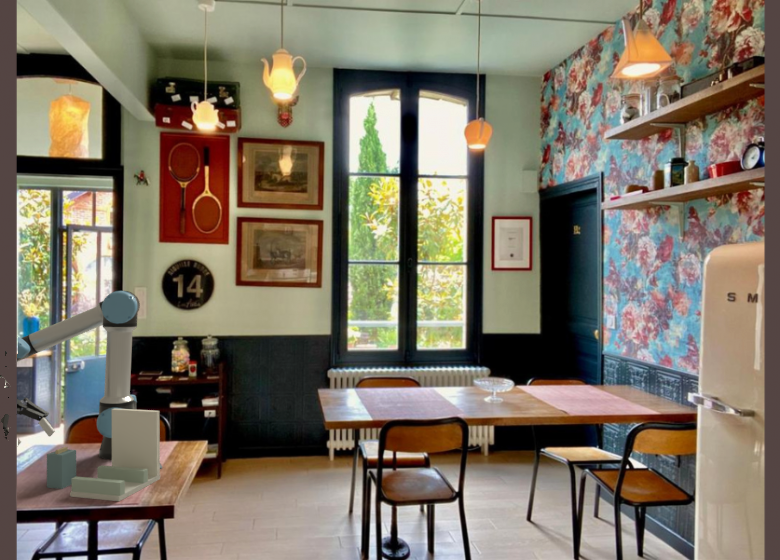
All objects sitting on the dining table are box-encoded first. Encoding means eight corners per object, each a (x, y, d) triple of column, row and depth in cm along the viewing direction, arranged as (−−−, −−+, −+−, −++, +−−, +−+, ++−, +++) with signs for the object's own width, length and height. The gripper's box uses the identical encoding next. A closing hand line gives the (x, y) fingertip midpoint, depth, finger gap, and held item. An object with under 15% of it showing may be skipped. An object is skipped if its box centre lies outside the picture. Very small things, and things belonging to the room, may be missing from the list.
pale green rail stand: (115, 475, 194) (115, 408, 194) (160, 478, 190) (159, 410, 190) (70, 496, 175) (70, 422, 175) (119, 501, 171) (118, 425, 171)
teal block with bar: (61, 481, 189) (61, 445, 189) (76, 482, 187) (76, 446, 187) (46, 487, 183) (46, 450, 183) (62, 488, 181) (61, 451, 182)
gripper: (24, 393, 204) (58, 436, 200) (-43, 408, 179) (-5, 457, 176) (36, 379, 203) (71, 422, 199) (-29, 393, 178) (9, 442, 175)
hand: (35, 439), depth 188 cm, fingers open, 13 cm apart
